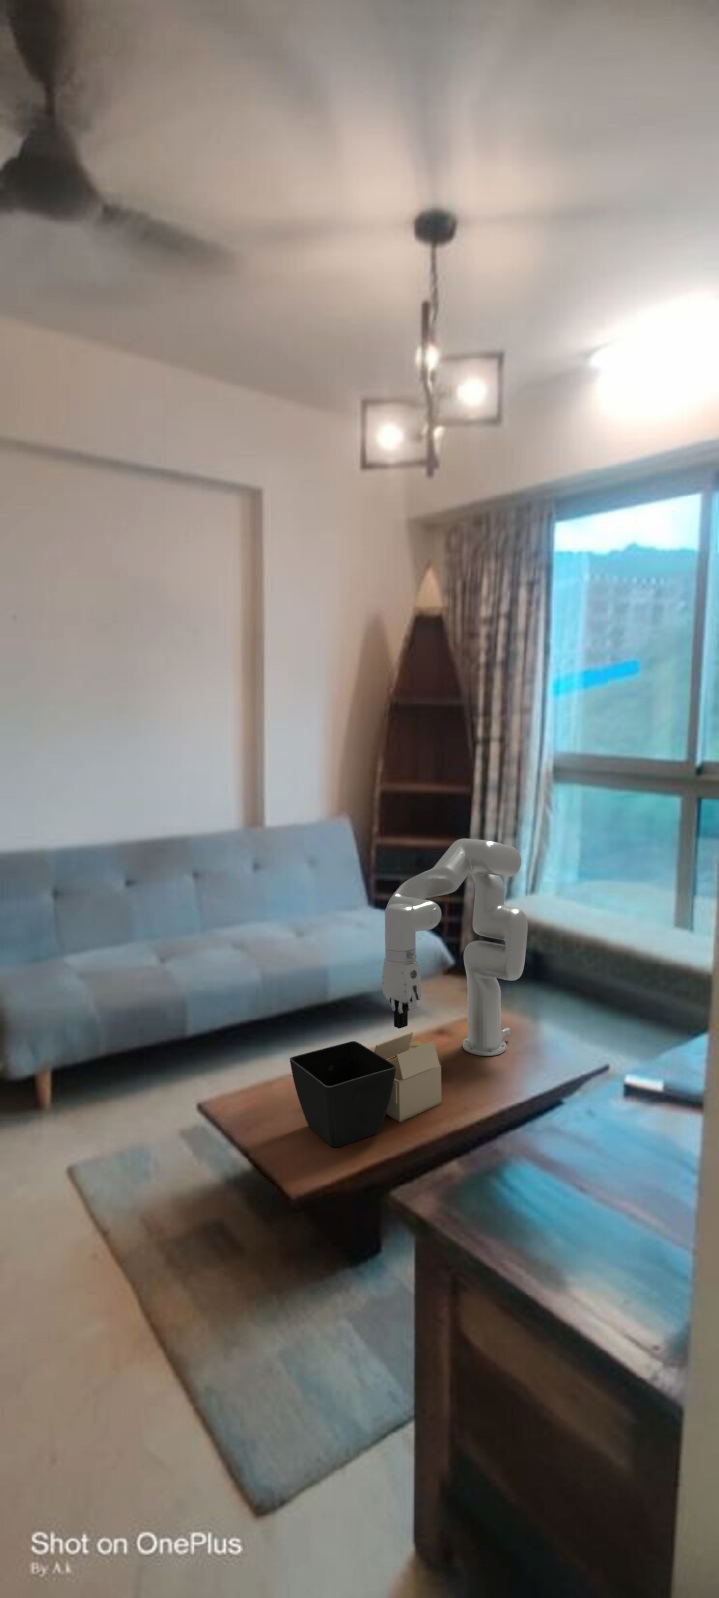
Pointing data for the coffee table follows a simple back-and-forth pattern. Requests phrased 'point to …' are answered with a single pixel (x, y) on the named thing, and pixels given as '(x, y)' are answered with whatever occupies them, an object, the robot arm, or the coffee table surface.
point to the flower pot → (343, 1091)
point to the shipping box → (414, 1093)
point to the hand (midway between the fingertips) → (400, 1026)
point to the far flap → (394, 1046)
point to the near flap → (417, 1060)
